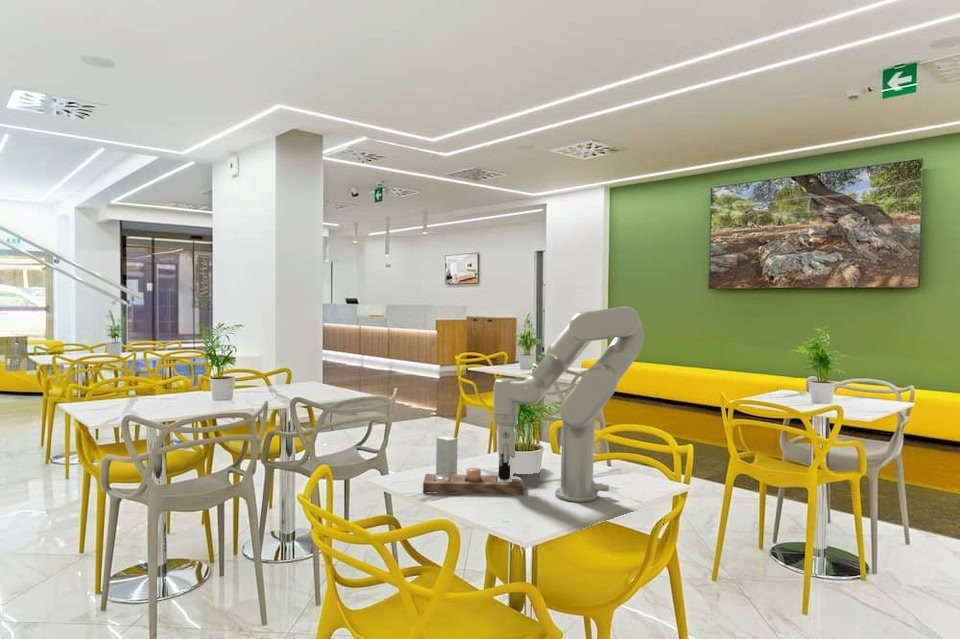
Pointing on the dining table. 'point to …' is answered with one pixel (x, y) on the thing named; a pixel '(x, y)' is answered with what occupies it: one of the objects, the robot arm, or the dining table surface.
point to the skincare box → (446, 455)
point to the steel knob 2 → (503, 480)
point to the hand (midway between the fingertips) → (504, 478)
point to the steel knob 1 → (442, 478)
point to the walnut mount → (472, 485)
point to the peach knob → (473, 475)
